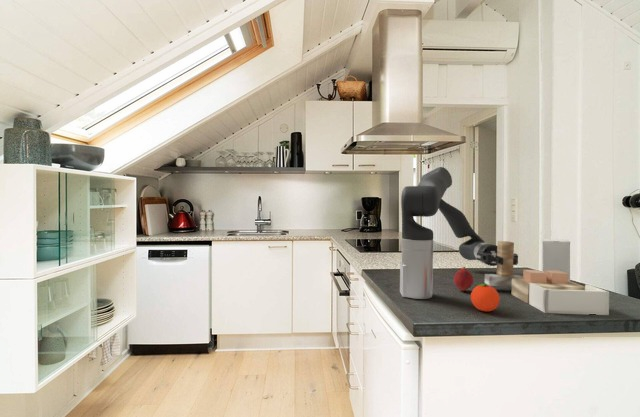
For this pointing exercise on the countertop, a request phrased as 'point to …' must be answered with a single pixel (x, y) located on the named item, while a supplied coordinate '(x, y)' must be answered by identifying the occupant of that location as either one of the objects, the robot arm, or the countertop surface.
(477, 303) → the clementine
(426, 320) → the countertop surface
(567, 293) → the box
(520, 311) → the countertop surface
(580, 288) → the tan wooden block
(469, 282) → the onion
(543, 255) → the skincare box
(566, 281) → the tile right
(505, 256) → the scraper
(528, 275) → the tile left
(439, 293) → the countertop surface
